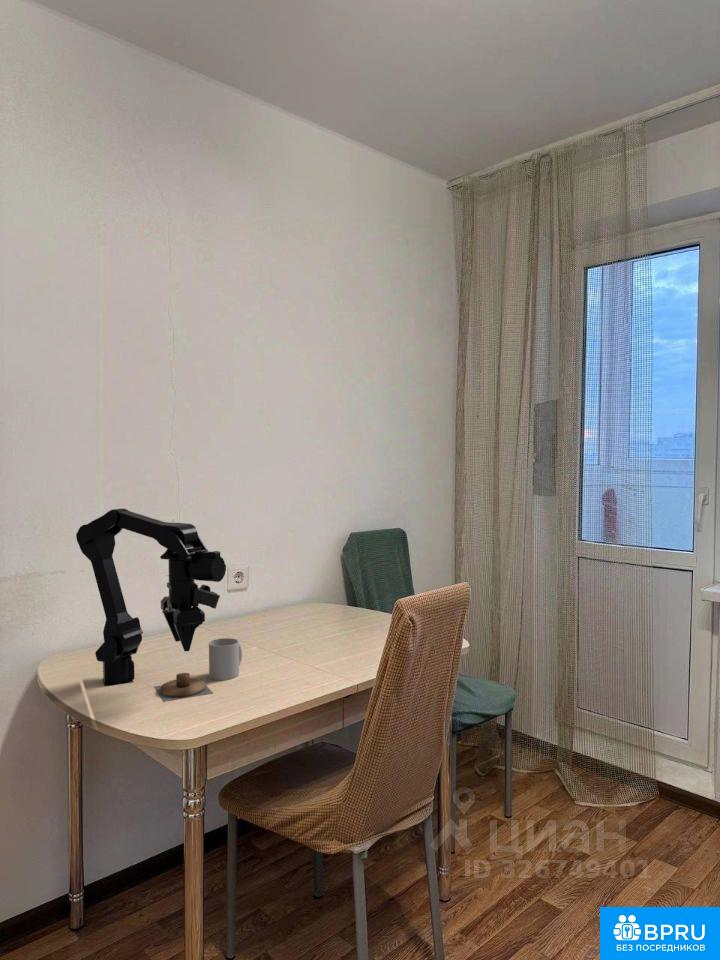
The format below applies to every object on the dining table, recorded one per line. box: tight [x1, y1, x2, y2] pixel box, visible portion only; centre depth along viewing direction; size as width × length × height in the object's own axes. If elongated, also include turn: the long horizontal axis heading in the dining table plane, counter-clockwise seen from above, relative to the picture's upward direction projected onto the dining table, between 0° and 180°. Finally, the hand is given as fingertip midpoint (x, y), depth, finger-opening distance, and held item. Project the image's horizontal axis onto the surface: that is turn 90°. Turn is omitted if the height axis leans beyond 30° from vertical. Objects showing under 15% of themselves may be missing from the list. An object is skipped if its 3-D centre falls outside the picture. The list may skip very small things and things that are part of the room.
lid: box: [160, 672, 206, 698], centre depth 155 cm, size 10×10×4 cm
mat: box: [154, 678, 214, 703], centre depth 155 cm, size 11×11×1 cm
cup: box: [208, 637, 243, 681], centre depth 167 cm, size 7×10×9 cm
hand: (182, 646), depth 155 cm, fingers open, 9 cm apart
